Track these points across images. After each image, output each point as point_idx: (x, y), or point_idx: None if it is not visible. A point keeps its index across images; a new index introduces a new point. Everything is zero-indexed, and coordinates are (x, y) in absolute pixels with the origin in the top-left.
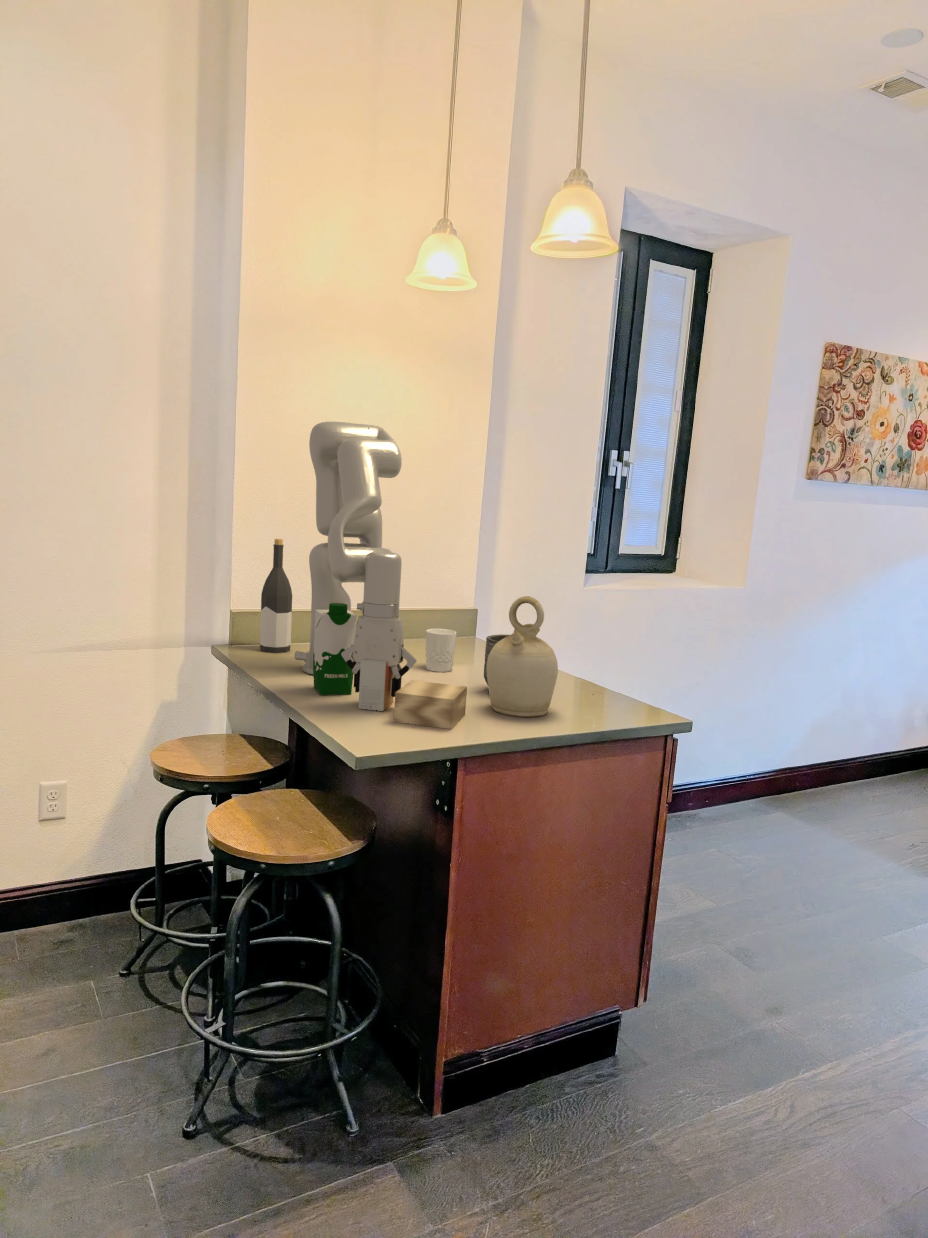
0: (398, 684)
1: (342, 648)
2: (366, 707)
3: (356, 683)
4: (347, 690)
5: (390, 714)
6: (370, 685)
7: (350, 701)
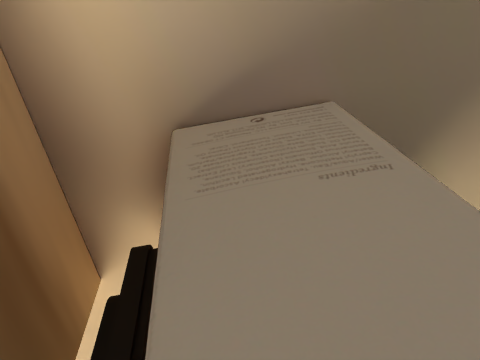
0: (99, 346)
1: None
2: (285, 112)
3: None
4: None
5: (105, 106)
6: (311, 188)
7: None
